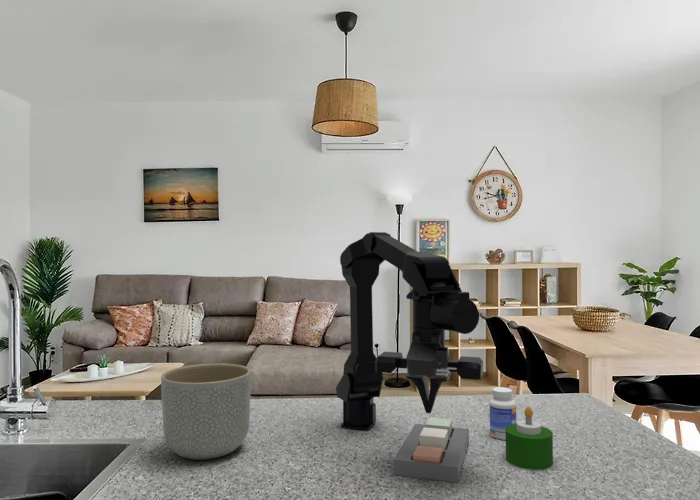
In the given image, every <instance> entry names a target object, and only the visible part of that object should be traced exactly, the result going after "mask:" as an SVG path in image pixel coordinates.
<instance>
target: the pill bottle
mask: <svg viewBox="0 0 700 500" xmlns="http://www.w3.org/2000/svg"><path fill="white" fill-rule="evenodd" d="M512 397H513V390H512V389H511V387H502V386H498V387H497V386H496V387H494V388H492V397H491V398H490V400H489V405H488V406H489V434H490V436H491V437H492V438H495V439H497V440H502V441H503V440H505V441H506V430H505V429H506V427H507V426H509V425H512V424H517V402H516V400H514V399H512Z"/></svg>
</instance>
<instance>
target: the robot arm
mask: <svg viewBox="0 0 700 500" xmlns="http://www.w3.org/2000/svg"><path fill="white" fill-rule="evenodd" d="M385 261H386V262H388V263H389V264H390V265H393V266H394V267H395V268H397V269H398V270H400V272H401V273H402V275H401V276H402V278H403V280H404V281H405V282H406V283H407V284H408V285H409V286H410V287H411V288H412V290H410V291H409V292H408V293H407V294H406V296H405V297H406V299H407V300H412V333H411V335H412V336H411V342H410V346H409V349H408V352H407V354H406V356H405V357H403V352H397V351H383V352H382V353H380V354H378V356H377V357H376V354H375V353H374V335H373V334H374V330H373V326H374V325H373V324H374V323H373V318H374V317H373V286H374V284H375V283H376V280H377V279H378V276H379V274H380V266H381V264H382V263H383V262H385ZM339 262H340V263H339V264H340V266H341V273H342V277H343V278H344V280H345V282H346V283H347V285H348V286H349V309H350V310H349V313H350V314H349V315H350V318H349V319H350V320H349V321H350V353H349V355H348V357H347V359H346V360H345V362H344V364H343V372H342V373H343V375H342V377H341V379H340V380H339V381H338V384H337V385H336V388H335V391H336V397H337V398H338V399H340V400H341V401H342V423H340V428H343V429H345V428H346V429H353V430H363V431H364V430H366V431H369V430H370V429H371V428H372V427H373V426H374V424H375V423H376V422H377V404H376V403H375V402H374V398H379V397H380V396H381V393H382V391H381V390H382V386H383V382H384V376H383V374H392V373H393V372H394V371H395V370H396V369H406V372H407V373H406V375H405V378H406V379H407V380H411V381H412V382H413V383H414V384H415V386H416V389H417V391H418V394H419V397H420V399H421V402H422V405H423V408H424V412H425V413H426V414H431V413H432V411H433V407H434V406H435V402H436V400H437V396H438V393H439V390H440V388H441V387H442V386H441V385H442V383H445V382H448V381H449V380H450V378H451V375H452V372H453V373H456V375H457V376H459V378H461V379H462V380H481V379H482V377H483V374H484V360H483V359H482V357H478V356H477V357H476V356H460V357H459V359H458V360H450V353H449V348H448V347H447V346H445V345H446V341H445V340H446V339H445V338H446V337H445V336H446V334H445V333H446V331H448V332H452V333H457V334H458V333H459V334H461V335H462V334H463V335H468V334H471V333H472V332H473V331H474V330H475V329H476V328H477V326H478V325H479V320H480V311H479V310H478V307H477V305H476V303H475V301H474V300H473V301H472V300H471V299H470V292H469V291H462V289H461V287H460V283H459V282H458V280H457V277H456V276H455V274H454V271H453V270H452V267H451V265H450V262H449V259H447V257H445V256H442V255H438V254H435V253H434V254H433V253H427V252H422V251H419V250H416V249H414V248H413V247H411V246H409V245H407V244H405V243H403V242H402V241H399V240H398V239H396V238H394V237H393V236H391V234H390V233H387V232H384V231H380V232H379V231H378V232H376V231H375V232H374V231H370V232H367V233H366V234H365V235H364V236H363V237H362V238H360V239H358V240H356V241H353V242H352V243H350V244H349V245H347V247H345V249H344V250H343V251H342V252H341V253H340V257H339Z"/></svg>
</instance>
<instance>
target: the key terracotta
mask: <svg viewBox="0 0 700 500" xmlns="http://www.w3.org/2000/svg"><path fill="white" fill-rule="evenodd" d="M413 460H416V461H425V462H433V463H442V461H443V448H436V447H426V446H417V448H416V450H415V452H414V454H413Z"/></svg>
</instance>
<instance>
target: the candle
mask: <svg viewBox="0 0 700 500" xmlns="http://www.w3.org/2000/svg"><path fill="white" fill-rule="evenodd" d="M533 412H534V411H533V409H532V408H531V406H527V407H525V410H524V417H525V420H524V419H523V420H518V421H516V424H512V425H509V426H507V427H506V429H505V430H506V440H505V460H506V462H507V463H509V464H510V465H512V466H515V467H518V468H521V469H524V470H525V469H527V470H532V471H533V470H537V471H538V470H546V469H549V468H551V467H552V466H553V464H554V455H553V454H554V453H553V452H554V451H553V450H554V447H553V445H554V444H553V443H554V440H553V439H554V438H553V431H552V430H551V429H549V428H548V427H545V426H542V424H541V423H539V422H537V421H534V420H533V414H534V413H533Z"/></svg>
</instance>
